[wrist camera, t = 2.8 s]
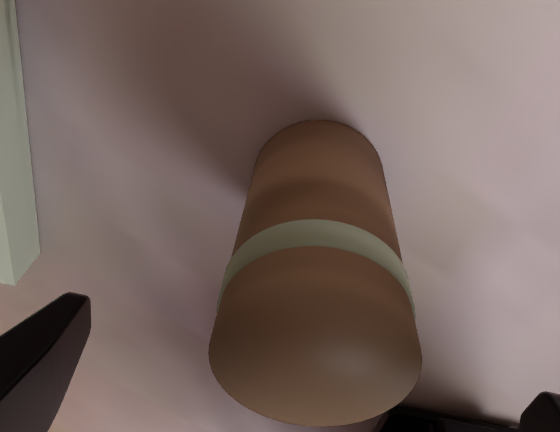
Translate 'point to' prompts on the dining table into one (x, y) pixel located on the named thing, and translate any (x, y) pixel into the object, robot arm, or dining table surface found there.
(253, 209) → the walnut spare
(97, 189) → the dining table surface
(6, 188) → the green tray
